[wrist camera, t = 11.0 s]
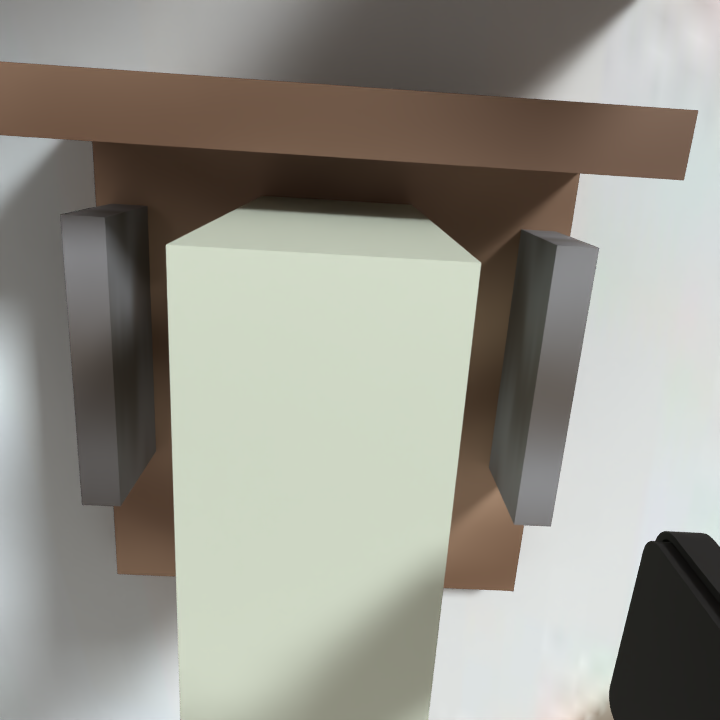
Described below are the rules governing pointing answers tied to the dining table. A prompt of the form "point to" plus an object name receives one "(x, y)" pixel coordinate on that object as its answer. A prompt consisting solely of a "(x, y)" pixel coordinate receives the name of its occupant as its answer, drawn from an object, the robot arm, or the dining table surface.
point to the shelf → (344, 183)
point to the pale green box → (314, 455)
